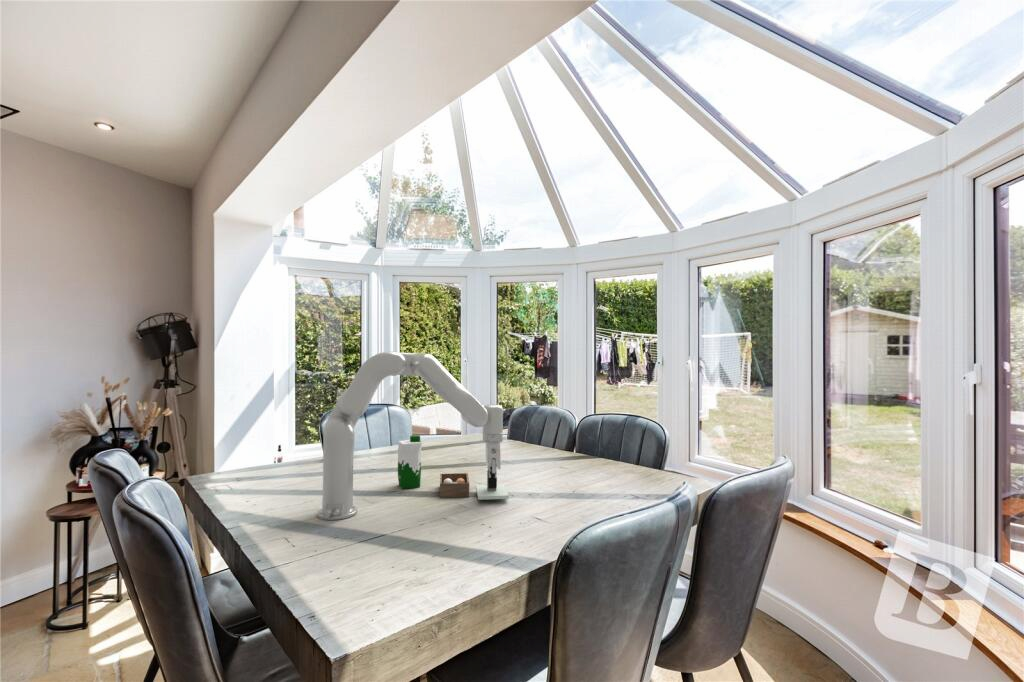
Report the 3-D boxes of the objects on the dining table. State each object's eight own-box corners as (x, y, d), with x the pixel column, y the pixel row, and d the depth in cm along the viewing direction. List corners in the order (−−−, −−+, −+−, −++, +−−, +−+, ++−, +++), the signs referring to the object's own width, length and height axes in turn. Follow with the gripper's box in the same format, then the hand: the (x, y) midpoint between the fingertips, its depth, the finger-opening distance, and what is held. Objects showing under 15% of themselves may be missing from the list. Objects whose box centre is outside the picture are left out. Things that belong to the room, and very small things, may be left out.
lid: (508, 498, 170) (508, 475, 170) (478, 499, 169) (478, 476, 169) (503, 487, 185) (504, 466, 185) (475, 487, 184) (476, 466, 184)
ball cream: (452, 488, 185) (452, 479, 185) (443, 489, 185) (443, 479, 185) (452, 486, 189) (452, 477, 189) (443, 486, 188) (443, 477, 188)
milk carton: (422, 487, 188) (423, 437, 189) (400, 490, 185) (401, 439, 185) (417, 482, 196) (418, 434, 197) (395, 484, 192) (396, 435, 193)
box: (469, 496, 177) (469, 483, 177) (439, 497, 176) (439, 484, 176) (467, 485, 192) (467, 473, 192) (440, 486, 191) (440, 473, 191)
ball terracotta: (465, 488, 186) (465, 479, 186) (455, 488, 185) (456, 479, 185) (464, 485, 189) (464, 476, 189) (455, 486, 189) (455, 477, 189)
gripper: (505, 441, 170) (504, 492, 169) (500, 433, 186) (499, 480, 186) (484, 441, 169) (483, 493, 168) (481, 434, 185) (480, 481, 185)
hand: (491, 486), depth 177 cm, fingers closed on lid, 3 cm apart
